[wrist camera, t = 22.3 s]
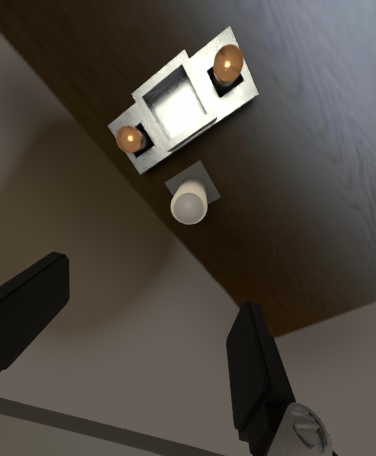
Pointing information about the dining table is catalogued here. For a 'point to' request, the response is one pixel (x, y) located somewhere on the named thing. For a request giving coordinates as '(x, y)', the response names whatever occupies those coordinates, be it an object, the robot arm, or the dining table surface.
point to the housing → (183, 103)
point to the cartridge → (190, 201)
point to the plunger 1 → (132, 139)
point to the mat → (200, 173)
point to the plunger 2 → (227, 67)
